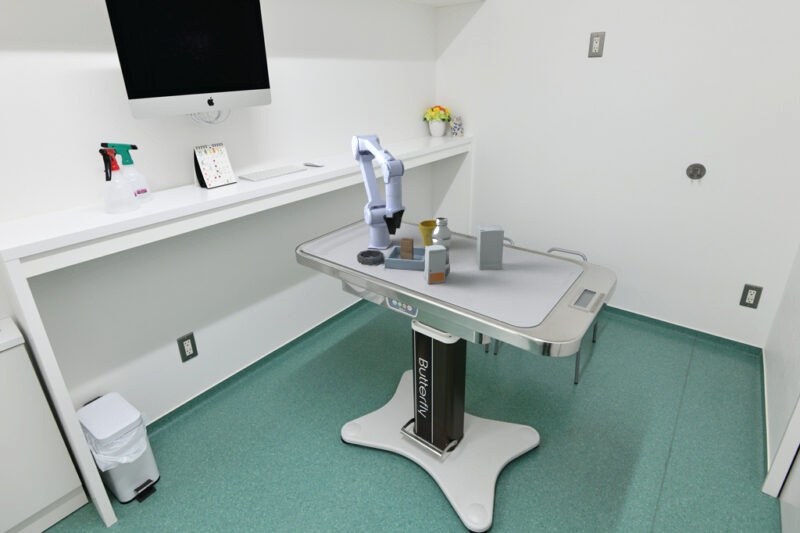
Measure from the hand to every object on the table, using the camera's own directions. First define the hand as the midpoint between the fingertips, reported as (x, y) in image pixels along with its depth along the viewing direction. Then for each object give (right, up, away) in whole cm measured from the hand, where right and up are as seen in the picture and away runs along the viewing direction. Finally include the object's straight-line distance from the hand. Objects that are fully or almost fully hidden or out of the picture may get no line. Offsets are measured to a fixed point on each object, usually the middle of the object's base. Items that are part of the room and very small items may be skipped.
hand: (394, 231), depth 166 cm
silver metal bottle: (+16, -16, -12) cm, 26 cm away
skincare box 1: (+13, -18, -16) cm, 27 cm away
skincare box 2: (+33, -13, -5) cm, 36 cm away
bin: (+5, -11, 0) cm, 12 cm away
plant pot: (+15, -5, +15) cm, 21 cm away
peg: (+5, -11, -1) cm, 12 cm away
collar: (-9, -11, +2) cm, 14 cm away
